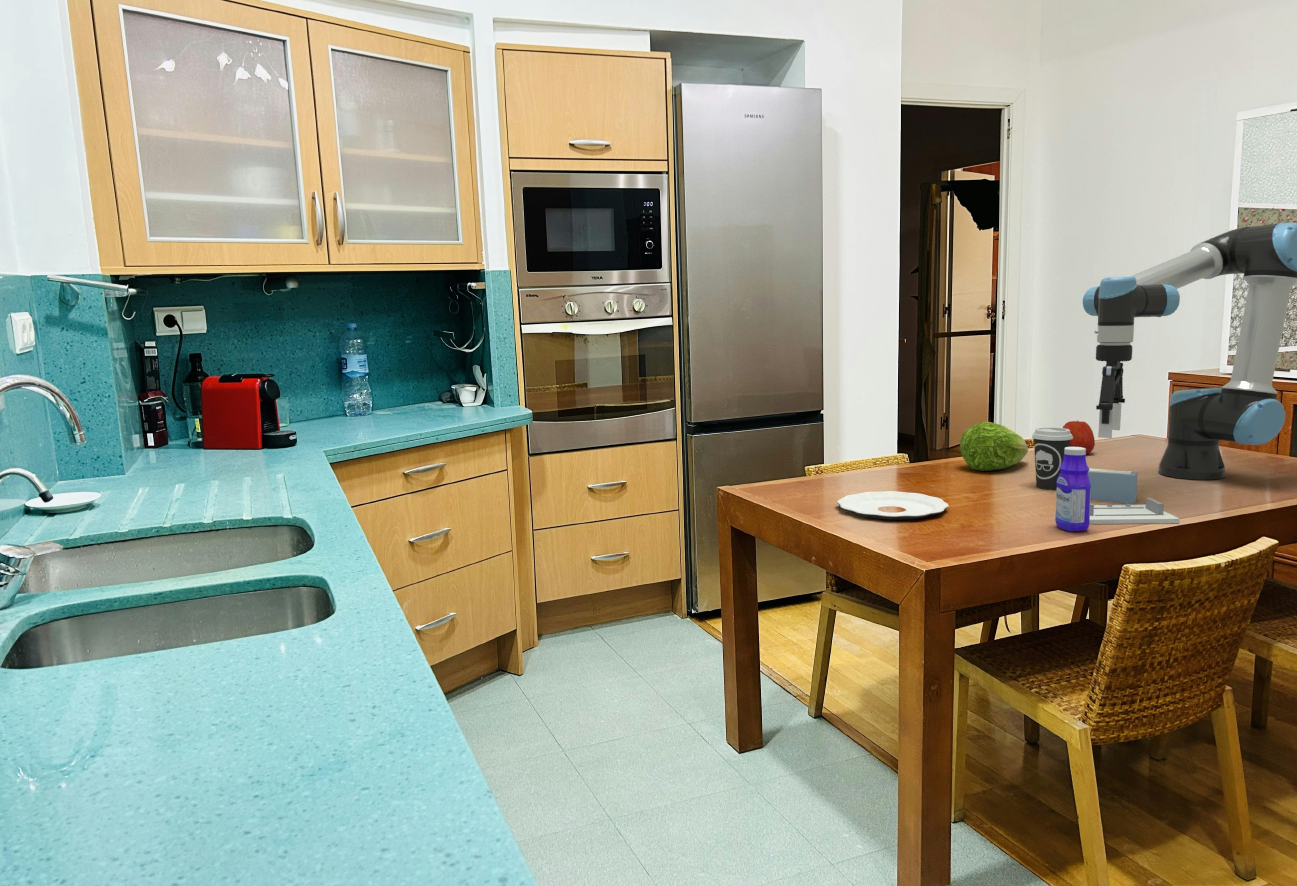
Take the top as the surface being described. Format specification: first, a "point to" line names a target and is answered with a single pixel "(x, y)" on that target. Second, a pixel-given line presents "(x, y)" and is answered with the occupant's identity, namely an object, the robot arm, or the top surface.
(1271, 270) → the robot arm
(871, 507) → the plate
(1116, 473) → the frame block
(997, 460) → the lettuce
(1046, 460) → the coffee cup
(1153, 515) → the wall board
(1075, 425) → the apple
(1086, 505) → the bottle
